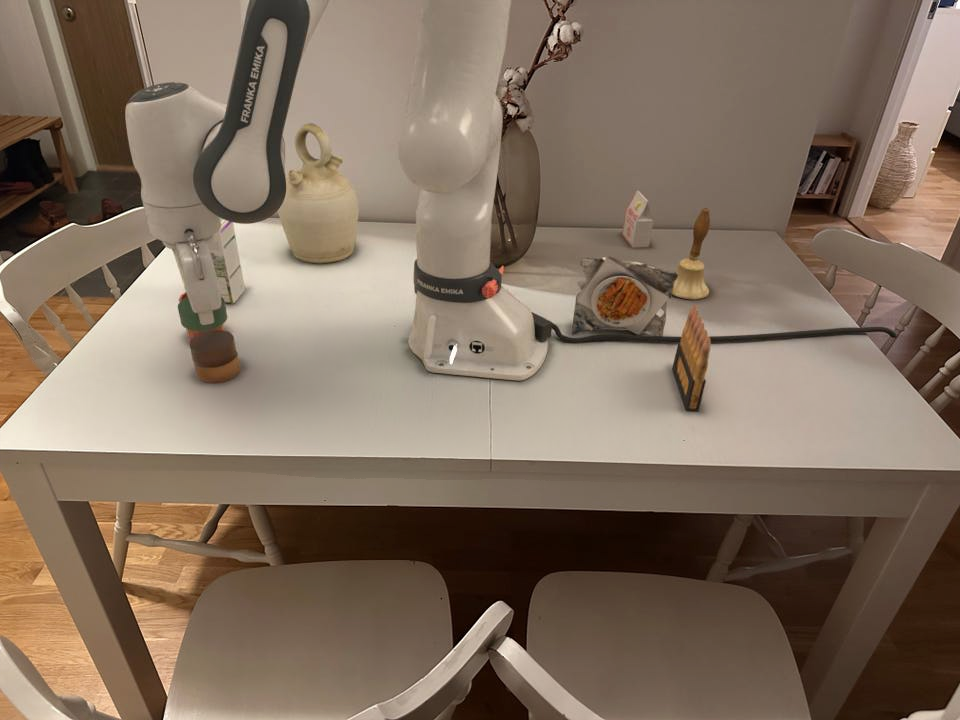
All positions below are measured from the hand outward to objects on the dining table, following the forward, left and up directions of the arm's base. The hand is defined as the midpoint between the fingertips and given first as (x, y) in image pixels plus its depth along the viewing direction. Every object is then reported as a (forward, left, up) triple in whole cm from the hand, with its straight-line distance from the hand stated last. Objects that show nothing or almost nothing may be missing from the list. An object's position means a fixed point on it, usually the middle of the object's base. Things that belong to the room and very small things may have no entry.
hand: (202, 309), depth 97 cm
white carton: (-53, -72, -11) cm, 90 cm away
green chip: (0, 0, -2) cm, 2 cm away
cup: (+8, -8, -11) cm, 15 cm away
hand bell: (-65, -53, -11) cm, 85 cm away
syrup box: (+13, -20, -11) cm, 26 cm away
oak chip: (0, 0, -11) cm, 11 cm away
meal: (-55, -32, -11) cm, 65 cm away
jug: (+6, -43, -11) cm, 45 cm away
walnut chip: (0, 0, -8) cm, 8 cm away
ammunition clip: (-67, -20, -11) cm, 71 cm away
